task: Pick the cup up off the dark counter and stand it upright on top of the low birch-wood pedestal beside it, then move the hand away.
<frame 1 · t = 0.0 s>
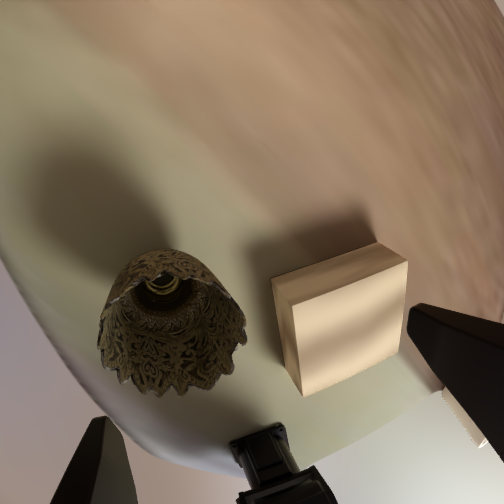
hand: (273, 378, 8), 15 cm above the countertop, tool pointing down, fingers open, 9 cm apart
foam cup: (453, 382, 46), on the countertop
cup: (161, 272, 22), on the countertop
pedestal: (331, 308, 28), on the countertop
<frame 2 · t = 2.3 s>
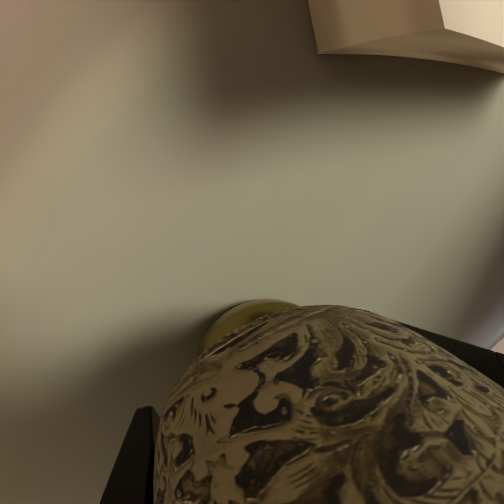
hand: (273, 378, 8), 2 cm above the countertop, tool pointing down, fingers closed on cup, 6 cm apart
cup: (250, 338, 10), on the countertop, touching gripper
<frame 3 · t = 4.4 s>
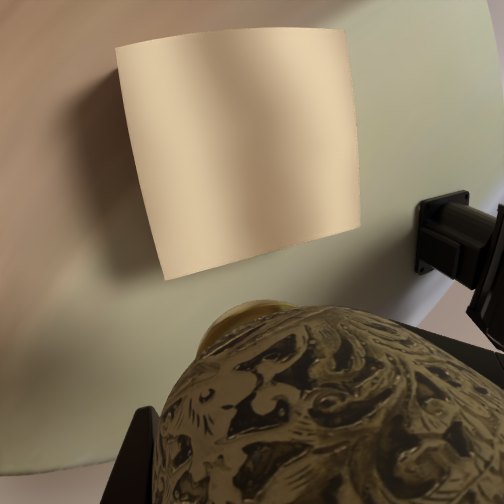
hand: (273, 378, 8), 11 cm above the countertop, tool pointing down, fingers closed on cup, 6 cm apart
cup: (249, 339, 10), point 9 cm above the countertop, touching gripper
pedestal: (232, 137, 16), on the countertop
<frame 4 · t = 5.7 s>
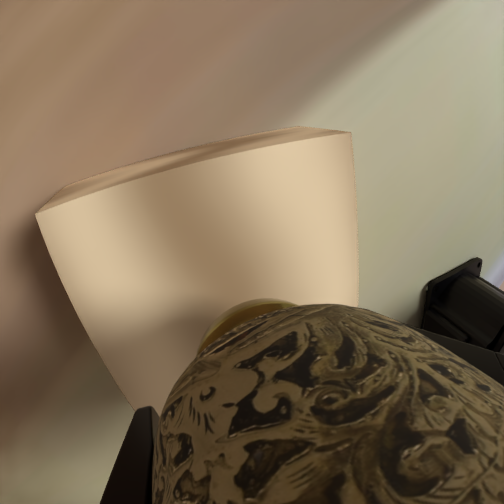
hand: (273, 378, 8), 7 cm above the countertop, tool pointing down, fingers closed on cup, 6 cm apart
cup: (249, 337, 10), point 6 cm above the countertop, touching gripper
pedestal: (209, 261, 14), on the countertop
when the fingers open (7 cm above the countertop, at t = 6.8 s): cup stays where it is, resting on pedestal.
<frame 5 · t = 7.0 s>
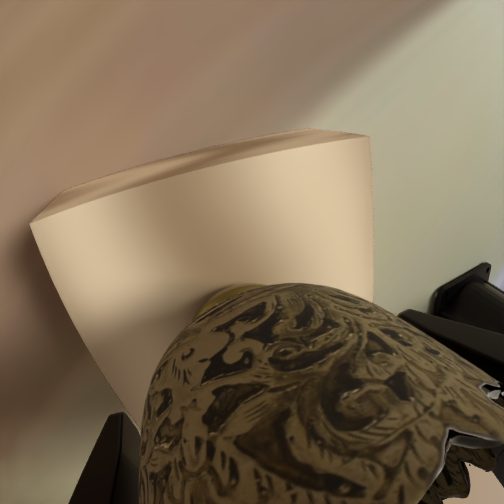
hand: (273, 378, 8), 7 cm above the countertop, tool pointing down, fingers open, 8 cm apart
cup: (237, 321, 10), point 4 cm above the countertop, touching pedestal
pedestal: (216, 269, 14), on the countertop
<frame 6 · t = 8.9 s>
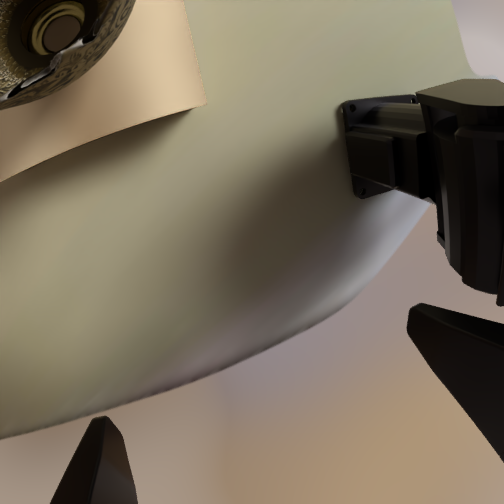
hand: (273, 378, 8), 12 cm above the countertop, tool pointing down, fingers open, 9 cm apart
cup: (62, 35, 9), point 4 cm above the countertop, touching pedestal
pedestal: (81, 51, 12), on the countertop
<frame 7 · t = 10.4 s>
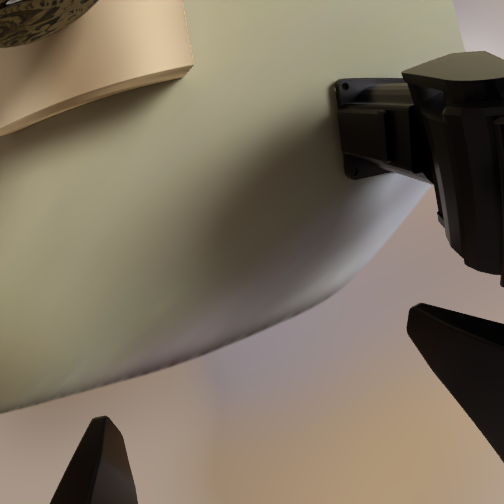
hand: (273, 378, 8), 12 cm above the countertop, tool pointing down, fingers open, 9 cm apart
pedestal: (78, 19, 12), on the countertop
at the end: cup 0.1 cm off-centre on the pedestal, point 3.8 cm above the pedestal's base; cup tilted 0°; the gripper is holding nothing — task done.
